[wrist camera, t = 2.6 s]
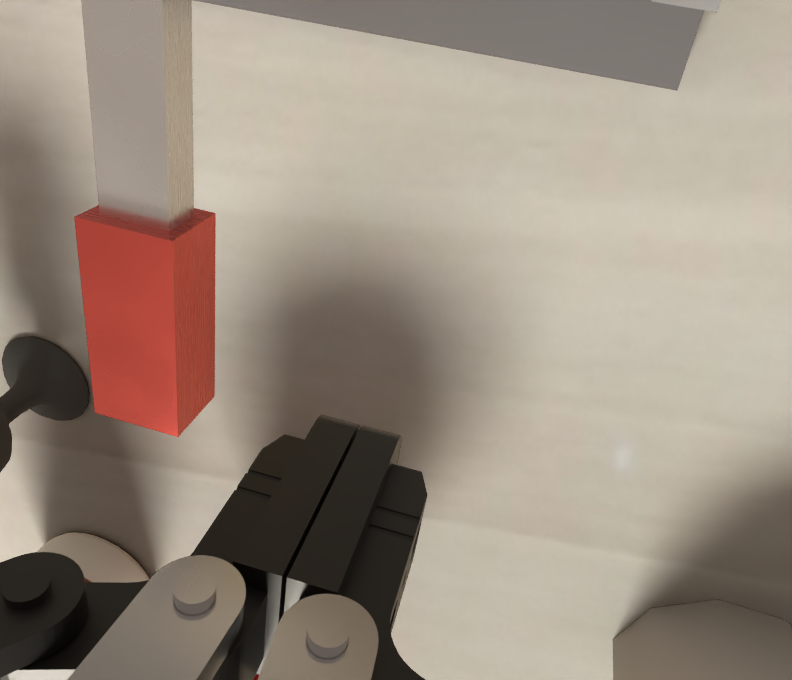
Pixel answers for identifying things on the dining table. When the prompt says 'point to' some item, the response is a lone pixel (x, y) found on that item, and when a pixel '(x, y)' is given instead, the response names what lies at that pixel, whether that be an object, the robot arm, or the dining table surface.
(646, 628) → the toilet tissue
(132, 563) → the milk bottle
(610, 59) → the valve stand
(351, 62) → the dining table surface
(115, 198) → the valve lever
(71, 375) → the sundae
